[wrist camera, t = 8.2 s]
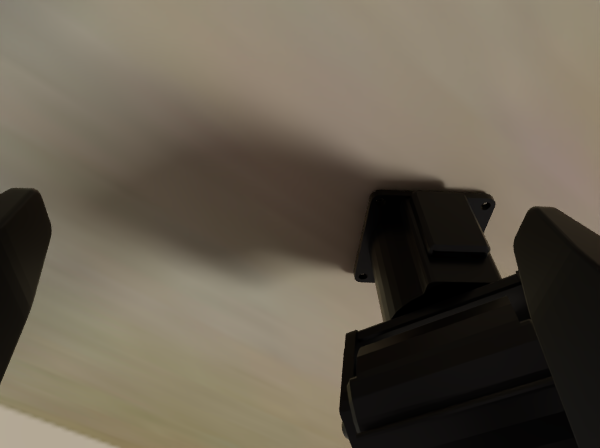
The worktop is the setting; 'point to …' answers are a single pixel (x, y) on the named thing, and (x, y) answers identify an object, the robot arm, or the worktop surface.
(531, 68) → the worktop surface
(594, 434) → the robot arm
